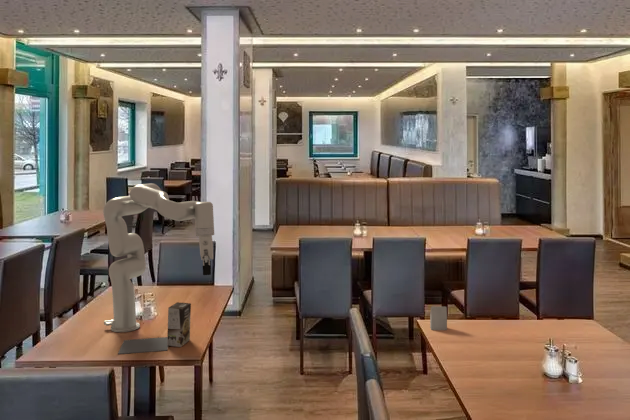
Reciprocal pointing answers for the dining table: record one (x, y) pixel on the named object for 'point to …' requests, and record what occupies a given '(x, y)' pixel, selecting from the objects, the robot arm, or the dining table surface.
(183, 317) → the coffee box
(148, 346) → the mat
